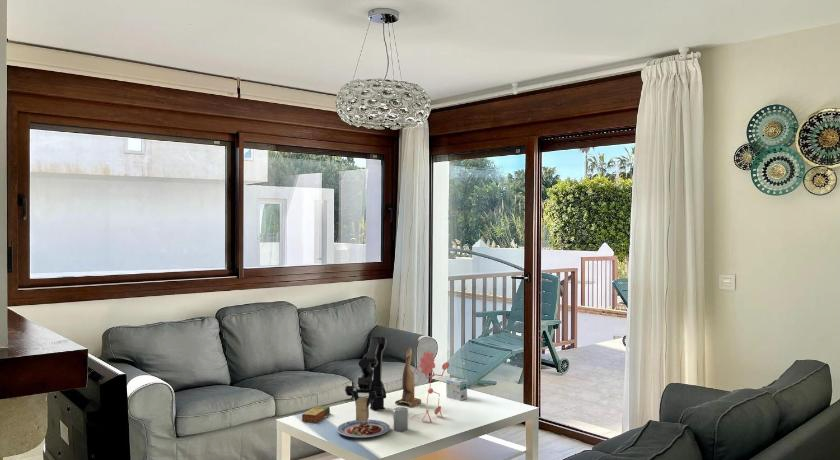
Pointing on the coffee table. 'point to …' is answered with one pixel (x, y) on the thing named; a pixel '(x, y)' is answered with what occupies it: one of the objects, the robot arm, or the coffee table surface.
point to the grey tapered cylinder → (400, 419)
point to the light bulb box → (456, 389)
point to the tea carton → (362, 409)
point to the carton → (316, 414)
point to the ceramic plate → (363, 428)
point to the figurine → (427, 366)
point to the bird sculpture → (408, 383)
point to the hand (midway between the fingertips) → (361, 406)
